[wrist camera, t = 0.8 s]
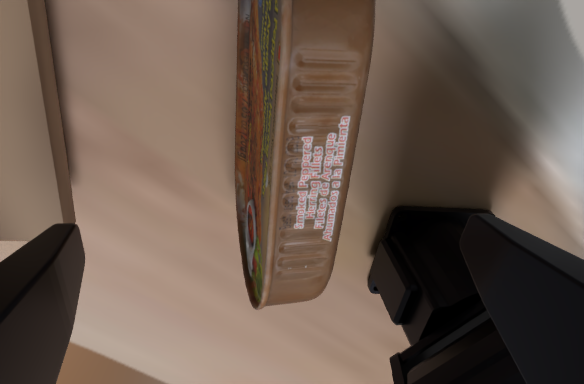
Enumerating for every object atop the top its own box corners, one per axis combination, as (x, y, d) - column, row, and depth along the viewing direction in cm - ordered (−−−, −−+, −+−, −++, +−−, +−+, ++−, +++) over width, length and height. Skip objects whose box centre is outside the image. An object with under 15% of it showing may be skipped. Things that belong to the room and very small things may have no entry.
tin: (240, -116, 15) (265, -151, 8) (326, -105, 15) (420, -129, 8) (233, 224, 23) (242, 357, 16) (289, 223, 23) (322, 351, 16)
